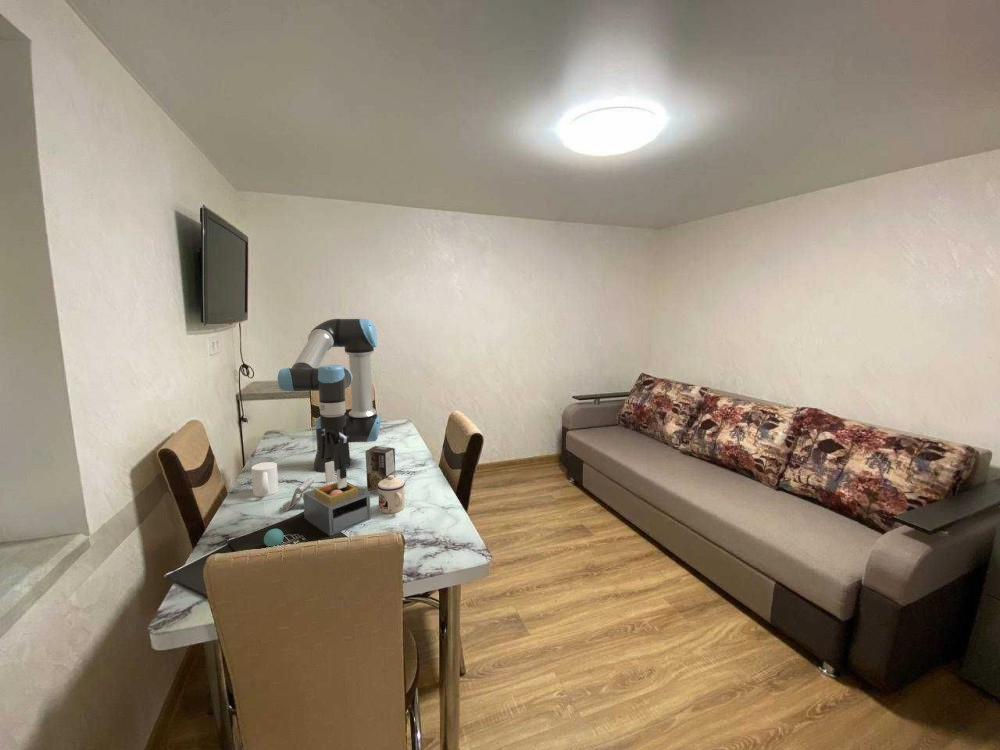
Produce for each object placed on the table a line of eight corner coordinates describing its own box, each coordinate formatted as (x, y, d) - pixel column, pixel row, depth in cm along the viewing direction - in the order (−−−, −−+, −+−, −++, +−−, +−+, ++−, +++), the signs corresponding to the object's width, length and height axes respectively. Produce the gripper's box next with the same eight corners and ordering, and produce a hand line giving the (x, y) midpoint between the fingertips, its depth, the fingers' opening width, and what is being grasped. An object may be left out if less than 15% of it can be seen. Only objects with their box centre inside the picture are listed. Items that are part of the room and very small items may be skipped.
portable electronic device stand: (296, 500, 148) (295, 477, 147) (317, 500, 148) (316, 478, 147) (283, 511, 140) (281, 487, 138) (306, 511, 139) (304, 488, 138)
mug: (276, 460, 158) (277, 470, 148) (278, 486, 160) (279, 497, 149) (251, 464, 154) (250, 474, 144) (253, 490, 156) (252, 502, 145)
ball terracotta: (325, 504, 133) (324, 490, 132) (339, 499, 137) (339, 485, 136) (333, 510, 130) (333, 495, 129) (347, 504, 134) (347, 490, 133)
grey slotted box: (304, 519, 134) (302, 488, 132) (344, 504, 144) (343, 476, 143) (330, 536, 124) (328, 503, 122) (370, 519, 134) (369, 488, 133)
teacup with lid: (373, 507, 143) (372, 474, 142) (398, 500, 149) (397, 469, 147) (388, 520, 134) (387, 486, 132) (413, 512, 140) (413, 479, 138)
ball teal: (261, 546, 118) (260, 530, 117) (279, 539, 122) (278, 523, 121) (268, 553, 115) (267, 536, 114) (287, 545, 118) (286, 529, 118)
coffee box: (396, 488, 159) (395, 448, 157) (386, 495, 153) (385, 453, 151) (376, 485, 162) (375, 445, 160) (366, 491, 156) (364, 450, 154)
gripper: (306, 411, 133) (309, 480, 136) (338, 421, 120) (341, 496, 123) (328, 407, 138) (331, 473, 141) (361, 417, 126) (363, 488, 129)
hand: (336, 484), depth 132 cm, fingers open, 7 cm apart
